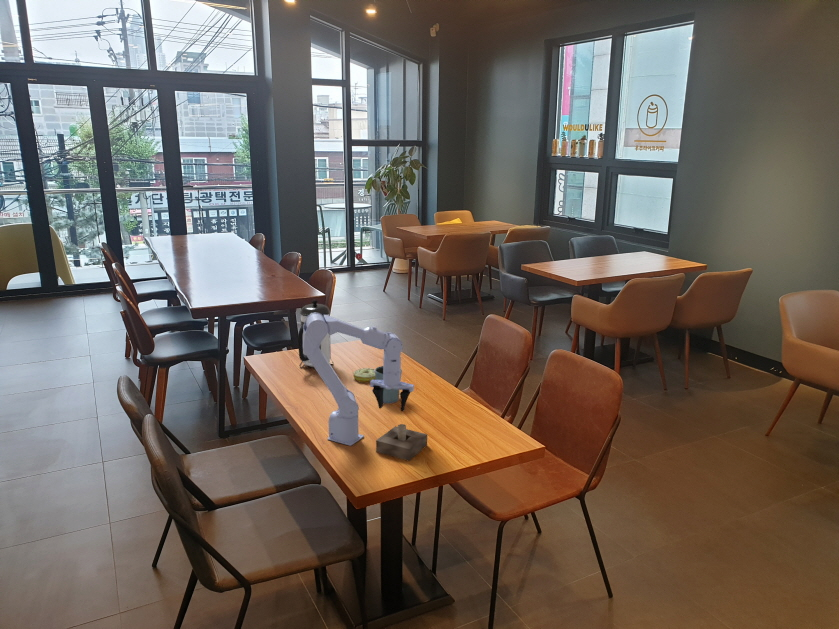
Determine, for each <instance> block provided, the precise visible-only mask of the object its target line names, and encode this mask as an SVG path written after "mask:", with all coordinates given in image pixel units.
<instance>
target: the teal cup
mask: <svg viewBox="0 0 839 629" xmlns="http://www.w3.org/2000/svg"><path fill="white" fill-rule="evenodd" d="M374 370H375V378H376V380H383V365H381V366H378V367H376V368H375V369H374ZM402 373H403V372H402V369H401V374H402ZM399 400H400V390H398V389H386V388H384V390H383V404H387V405H388V404H394V403H397V402H398V401H399Z"/></svg>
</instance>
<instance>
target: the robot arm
mask: <svg viewBox="0 0 839 629" xmlns="http://www.w3.org/2000/svg"><path fill="white" fill-rule="evenodd" d="M324 317H325V318H324ZM327 333H328V334H329V336H330V337H331V336H333V335H335V334H337V333H338V334H339V333H340V334H342V335H346V336H350V337H354V338H356V339H360V341H361V343H362V345H367V346H369V347H371V348H374V349H378V350H383V362H382V363H383V365H382V366H383V380H371V381H370V383H369V386H370V388H372V390H371V391H372V394H373V395H374V397H375V399H376V402H377V405H378V409H380V410H381V409H382V408H383V407H384V403H383V390H384V388H386V389H398V390H399V391H401V392H399V398H400V412H401V413H403V412H404V411H405V409H406V404H407V400H408V398H409V396H410V394H411V393H412V392H414V389H415V384H413V383H412V384H411V383H408V382H404V381H401V379H402V373H401V370H402V357H401V353H402V351H403V349H404V346H403V342H402V340H401V339H400V338H399V337H398V335H396V334H395V333H394V332H390V331H386V332H385V331H382V330H380V329H378V328H377V326H374V325H371V326H367V327H364V328H362V327H359V326H357V325H354V324H351V323H348V322H346V321H343V320H341V319H339V318H336V317H333V316H331V315H329V316H328V315H324V316H323V315H322V314H320V313H311V314H310V315H308V317H307V318H306V320H305V323H304V325H303V350H304V353H305V354H306V356H307V357H308V359H309V360H310V362H311V363H312V365H313V366H314V367H313V366H312V367H313V368H314V370H316V372H317V373H318V375H319V377H320V378H321V379H322V381H323V382H324V385H325V386H326V387H327V388H328V390H329V392H330V393H331V395H332V397H333V398H334V401H335V402H336V404H337V406H338V408H337V410H333V411H332V412H331V413H330V415H329V417H328V437H327V440H329V441H330V442H331V441H332V442H336V443H339V444H343V445H347V446H351V447H352V446H353V445H354V444H356V443H357V442H359V441H360V440H362V439H363V438H364V437H365V435H364V434H360V433H359V431H360V430H359V429H360V428H359V409H360V408H359V407H360V406H359V404H358V403H357V399H356V397H355V394H354V392H353V391H351V390H349V389H348V388H347V387H346V385H344V383H343V382H342V380H341V378H339V376H338V374H337V373H336V371H335V369H334V368H333V367H332V365H331V364H330V363H331V362H328V360H327V359H326V357H325V356H324V354H323V353H322V351H321V350H320V348H319V347H320V344H321V341H322V340H323V339H324V338H325V336H326V335H327Z"/></svg>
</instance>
